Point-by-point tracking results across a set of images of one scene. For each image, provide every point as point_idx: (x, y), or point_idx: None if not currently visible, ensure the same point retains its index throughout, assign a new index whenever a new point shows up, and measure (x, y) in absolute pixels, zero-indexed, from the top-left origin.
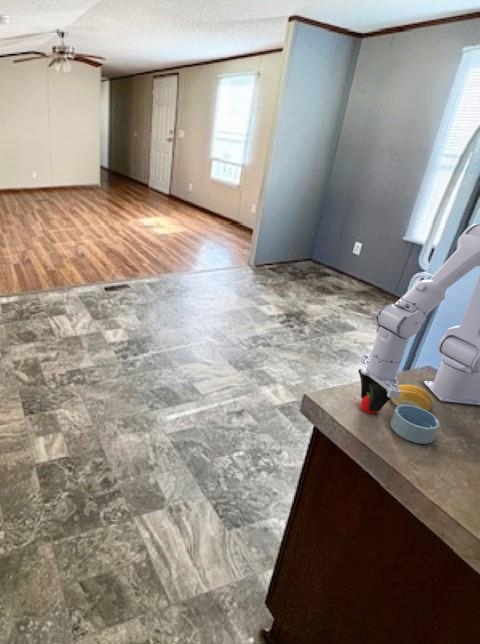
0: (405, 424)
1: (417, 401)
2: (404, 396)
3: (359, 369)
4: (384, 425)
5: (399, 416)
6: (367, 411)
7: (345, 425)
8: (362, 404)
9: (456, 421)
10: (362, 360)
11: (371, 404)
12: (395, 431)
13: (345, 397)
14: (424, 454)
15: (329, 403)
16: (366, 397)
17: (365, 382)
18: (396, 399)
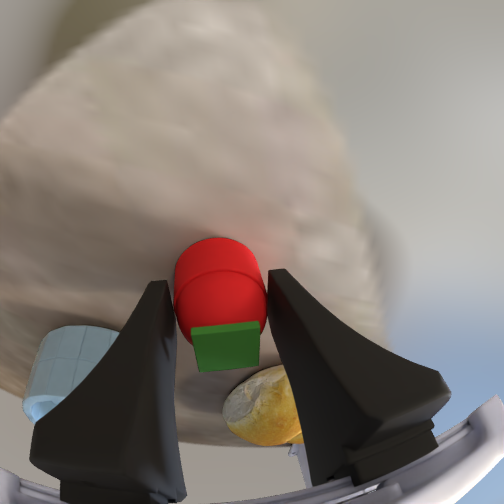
0: (29, 386)
1: (245, 435)
2: (271, 419)
3: (448, 395)
4: (99, 303)
5: (43, 395)
6: (178, 263)
7: (15, 111)
8: (211, 255)
9: (220, 436)
10: (497, 413)
11: (133, 314)
12: (58, 329)
13: (314, 179)
14: (17, 355)
15: (226, 44)
16: (222, 305)
17: (319, 371)
18: (276, 387)
